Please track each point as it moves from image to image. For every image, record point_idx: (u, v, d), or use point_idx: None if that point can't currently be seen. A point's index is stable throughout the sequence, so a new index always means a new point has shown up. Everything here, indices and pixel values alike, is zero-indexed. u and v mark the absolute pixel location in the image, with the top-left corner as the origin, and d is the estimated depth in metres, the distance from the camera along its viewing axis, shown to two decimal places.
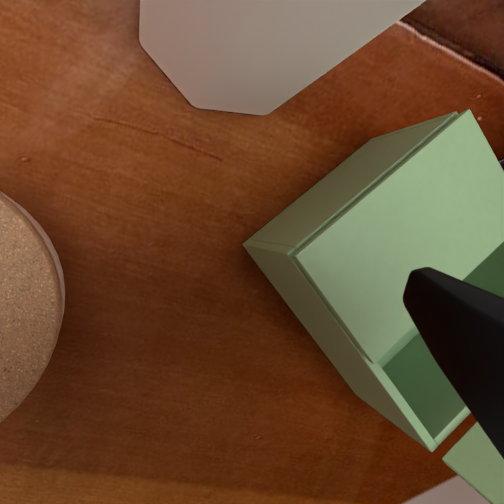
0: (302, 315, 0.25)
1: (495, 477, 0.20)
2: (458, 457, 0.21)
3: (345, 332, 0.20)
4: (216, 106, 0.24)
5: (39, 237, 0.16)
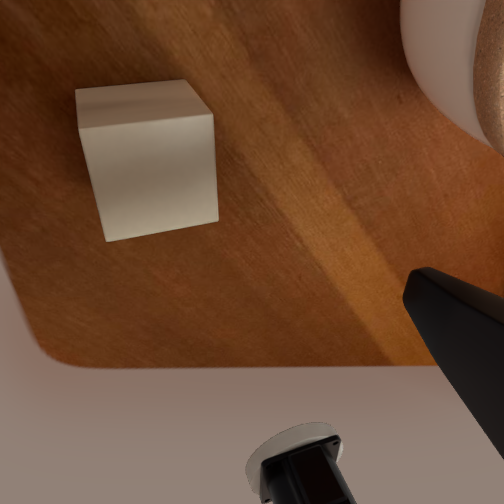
0: None
1: None
2: None
3: None
4: None
5: None
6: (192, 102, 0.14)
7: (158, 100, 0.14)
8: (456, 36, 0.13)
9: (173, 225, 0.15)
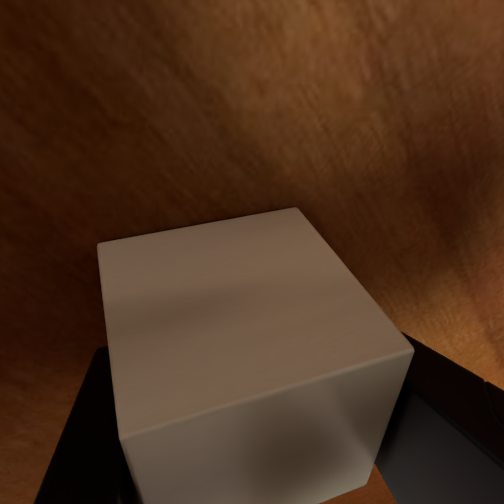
0: None
1: None
2: None
3: None
4: None
5: None
6: (347, 296, 0.07)
7: (273, 289, 0.07)
8: None
9: None
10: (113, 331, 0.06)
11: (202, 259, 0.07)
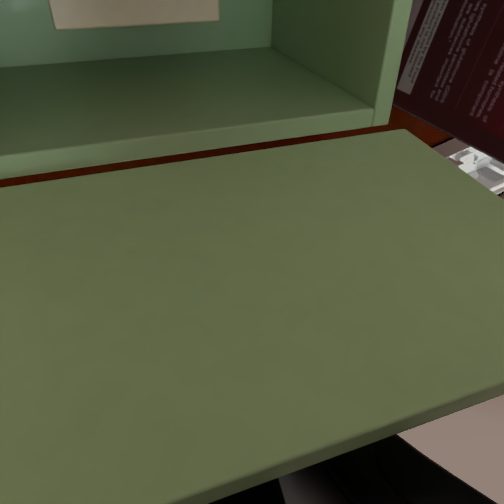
0: None
1: None
2: None
3: None
4: None
5: None
6: None
7: None
8: None
9: (153, 15, 0.11)
10: None
11: None
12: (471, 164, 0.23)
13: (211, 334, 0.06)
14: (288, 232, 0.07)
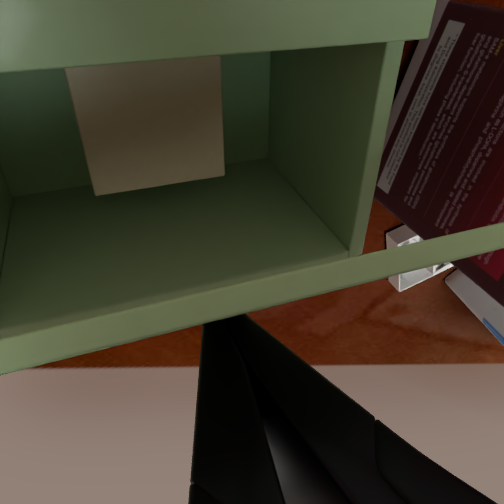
0: None
1: None
2: None
3: None
4: None
5: None
6: None
7: None
8: None
9: (172, 178, 0.13)
10: None
11: None
12: None
13: None
14: None
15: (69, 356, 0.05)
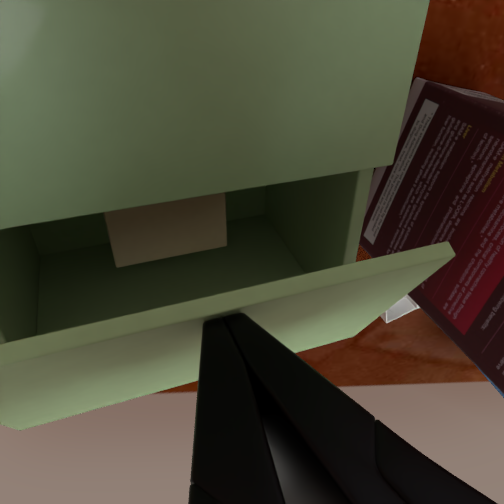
0: None
1: None
2: None
3: None
4: None
5: None
6: None
7: None
8: None
9: (182, 250, 0.15)
10: None
11: None
12: None
13: None
14: None
15: (99, 341, 0.08)
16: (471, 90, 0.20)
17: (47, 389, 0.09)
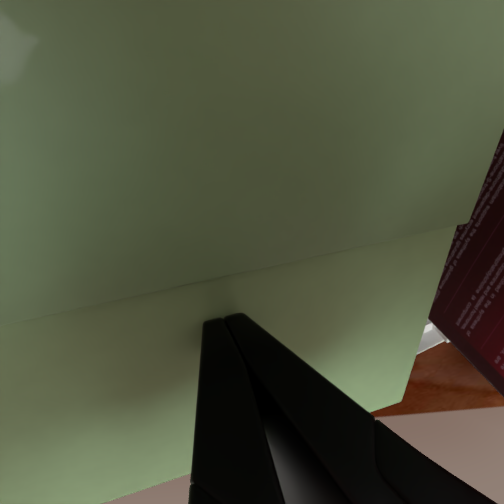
0: None
1: None
2: None
3: None
4: None
5: None
6: None
7: None
8: None
9: None
10: None
11: None
12: None
13: None
14: None
15: None
16: None
17: (39, 413, 0.08)
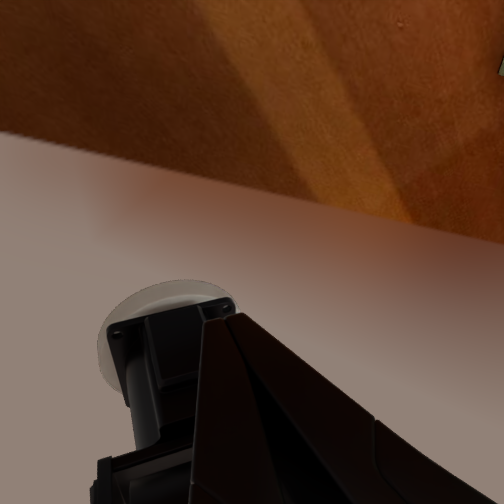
0: None
1: None
2: None
3: None
4: None
5: None
6: None
7: None
8: None
9: None
10: None
11: None
12: None
13: None
14: None
15: None
16: None
17: None
